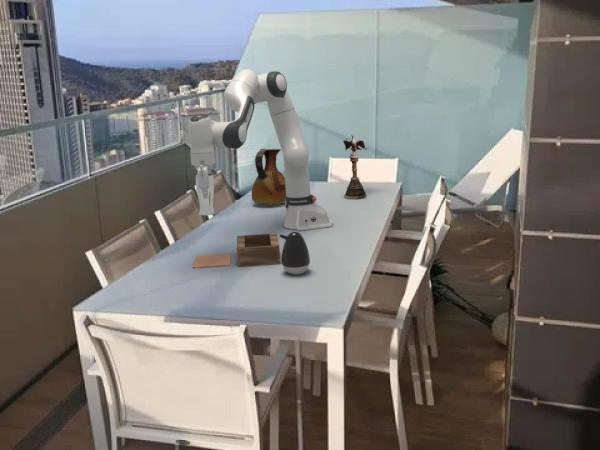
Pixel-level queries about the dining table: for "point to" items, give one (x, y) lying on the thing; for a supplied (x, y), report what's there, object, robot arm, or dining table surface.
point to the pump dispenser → (295, 254)
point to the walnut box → (258, 249)
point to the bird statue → (354, 170)
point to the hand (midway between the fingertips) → (206, 195)
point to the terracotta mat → (212, 260)
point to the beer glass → (206, 203)
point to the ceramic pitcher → (268, 179)
